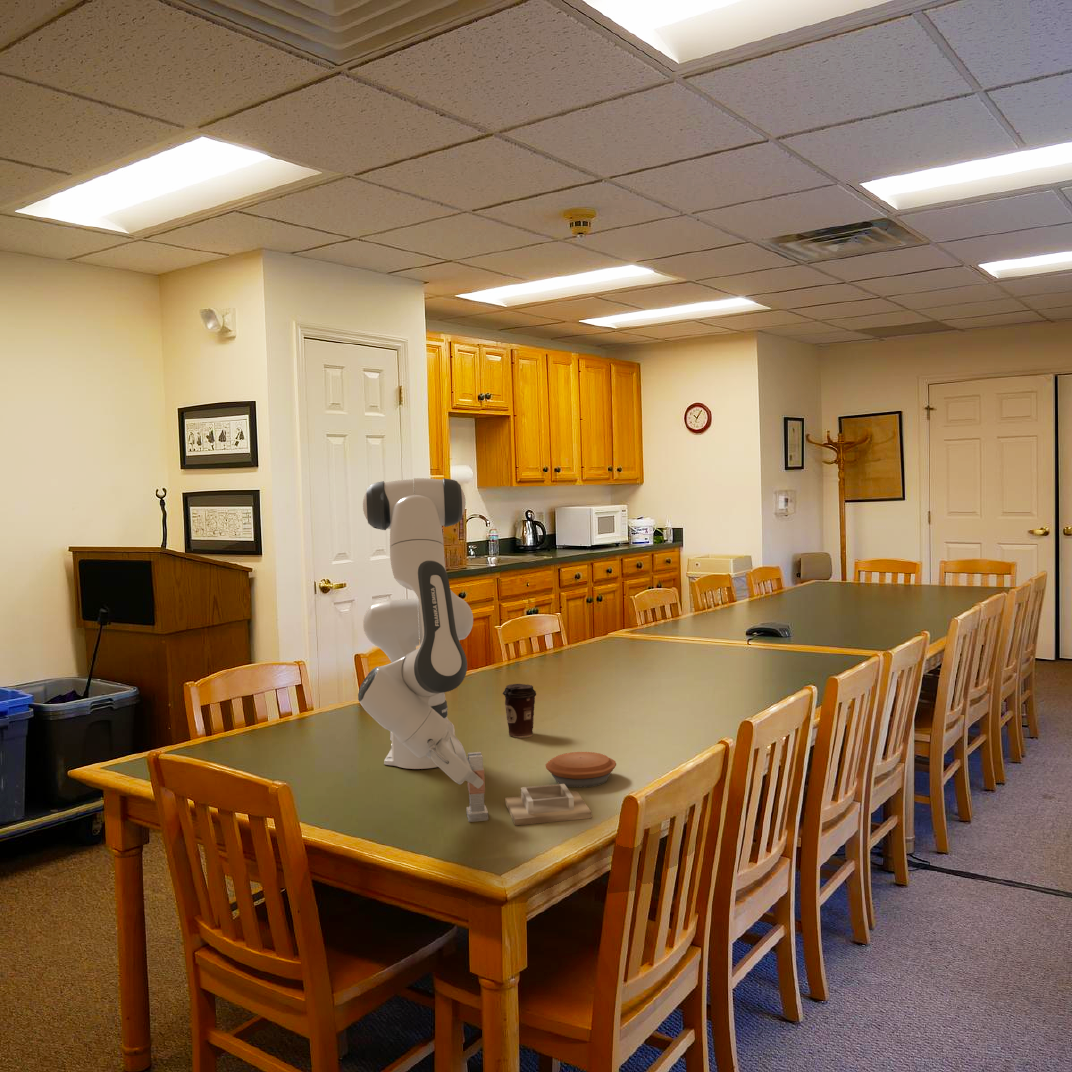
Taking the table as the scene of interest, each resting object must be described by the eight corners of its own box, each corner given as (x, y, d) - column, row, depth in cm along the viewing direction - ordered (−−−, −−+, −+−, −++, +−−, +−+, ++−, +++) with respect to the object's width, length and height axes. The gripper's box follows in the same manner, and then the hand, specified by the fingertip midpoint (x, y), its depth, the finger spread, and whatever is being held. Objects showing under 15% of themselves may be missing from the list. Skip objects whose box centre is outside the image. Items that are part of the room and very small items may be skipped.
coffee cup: (508, 740, 243) (506, 690, 242) (500, 733, 251) (498, 684, 250) (541, 737, 245) (539, 687, 244) (532, 729, 253) (530, 681, 252)
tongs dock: (505, 803, 194) (504, 785, 194) (577, 797, 197) (576, 779, 197) (515, 825, 182) (514, 806, 181) (591, 818, 184) (590, 799, 184)
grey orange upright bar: (466, 814, 189) (464, 752, 188) (485, 812, 189) (483, 750, 189) (468, 821, 184) (466, 758, 184) (488, 820, 185) (486, 756, 184)
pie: (612, 768, 217) (611, 746, 217) (620, 789, 201) (620, 766, 201) (544, 771, 216) (544, 749, 216) (547, 792, 201) (547, 769, 201)
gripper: (442, 735, 174) (497, 783, 177) (434, 710, 195) (483, 753, 197) (418, 761, 174) (474, 809, 176) (413, 733, 194) (463, 776, 196)
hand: (479, 779), depth 187 cm, fingers open, 5 cm apart
